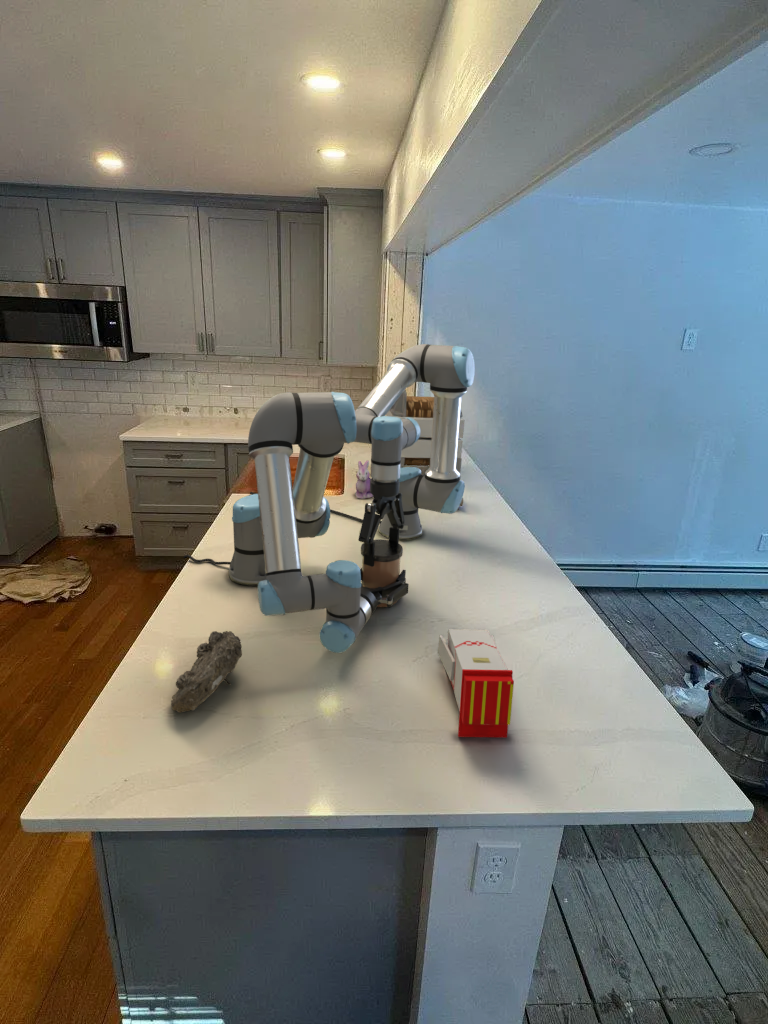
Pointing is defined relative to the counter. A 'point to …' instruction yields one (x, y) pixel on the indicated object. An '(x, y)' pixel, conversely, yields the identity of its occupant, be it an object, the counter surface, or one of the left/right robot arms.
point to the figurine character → (461, 503)
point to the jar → (380, 574)
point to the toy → (478, 682)
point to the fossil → (207, 670)
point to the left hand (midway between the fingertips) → (385, 570)
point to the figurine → (363, 481)
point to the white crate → (421, 429)
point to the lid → (385, 550)
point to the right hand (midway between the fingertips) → (381, 557)
